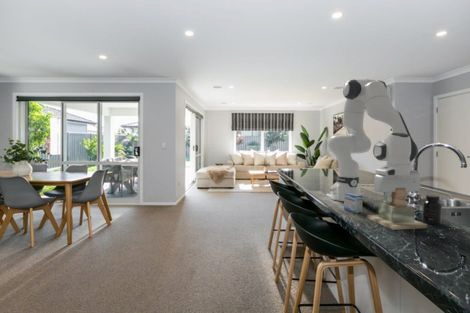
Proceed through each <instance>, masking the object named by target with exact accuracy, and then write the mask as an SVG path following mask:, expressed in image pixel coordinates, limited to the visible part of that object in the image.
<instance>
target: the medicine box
mask: <svg viewBox="0 0 470 313" xmlns="http://www.w3.org/2000/svg"><path fill="white" fill-rule="evenodd" d="M363 200H364V199H363V195H357V194H353V193H345V197H344V201H343V210H344V209H345V210H344V211H347V210H348V211H349V212H350V213H355V214H358V213H359V212H361V213H363ZM359 214H360V213H359Z"/></svg>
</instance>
